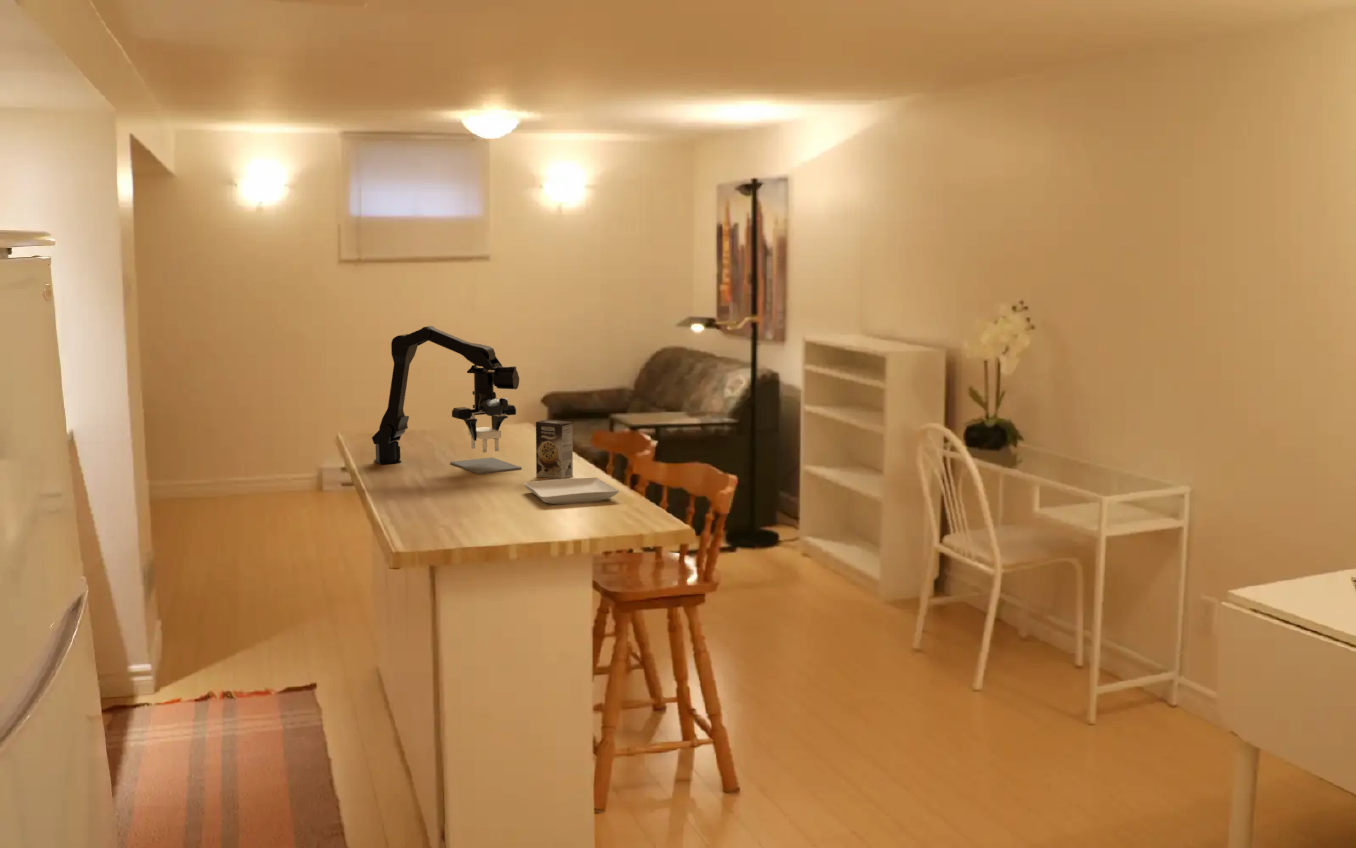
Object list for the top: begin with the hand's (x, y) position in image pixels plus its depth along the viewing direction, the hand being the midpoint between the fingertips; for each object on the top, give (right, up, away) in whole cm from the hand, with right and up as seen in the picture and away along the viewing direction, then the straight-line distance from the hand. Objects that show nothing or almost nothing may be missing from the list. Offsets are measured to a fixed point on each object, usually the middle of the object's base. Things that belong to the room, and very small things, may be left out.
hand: (484, 439), depth 360 cm
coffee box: (+22, -11, -13) cm, 28 cm away
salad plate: (+30, -15, -41) cm, 53 cm away
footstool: (0, -3, 0) cm, 3 cm away
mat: (0, -8, +1) cm, 8 cm away
